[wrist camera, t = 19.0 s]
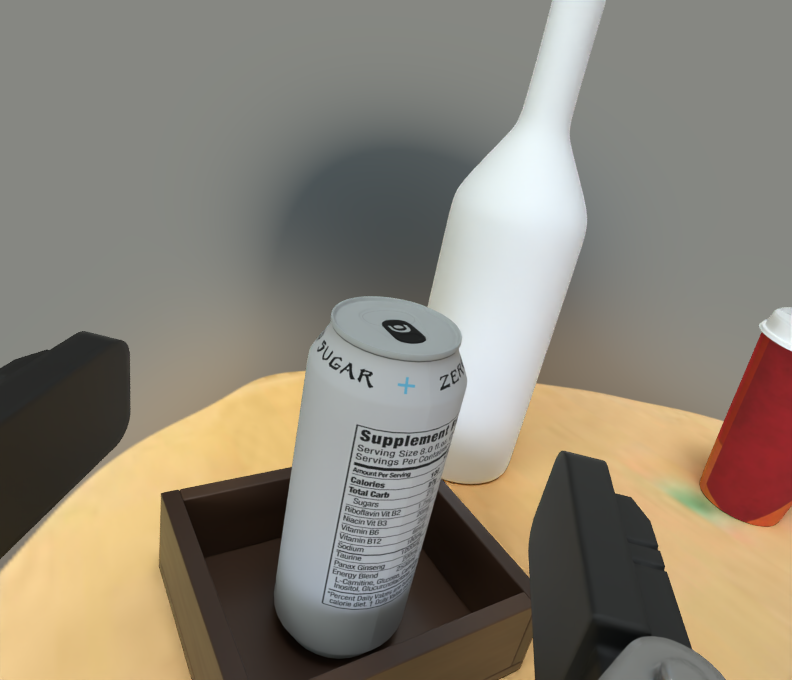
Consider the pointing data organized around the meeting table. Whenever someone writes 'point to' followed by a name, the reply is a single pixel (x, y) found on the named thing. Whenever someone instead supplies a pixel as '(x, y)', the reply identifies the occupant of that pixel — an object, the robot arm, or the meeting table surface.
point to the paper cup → (757, 434)
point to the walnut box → (255, 581)
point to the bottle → (515, 251)
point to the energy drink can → (366, 471)
